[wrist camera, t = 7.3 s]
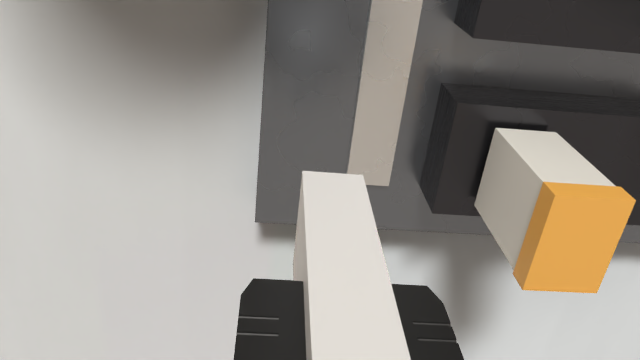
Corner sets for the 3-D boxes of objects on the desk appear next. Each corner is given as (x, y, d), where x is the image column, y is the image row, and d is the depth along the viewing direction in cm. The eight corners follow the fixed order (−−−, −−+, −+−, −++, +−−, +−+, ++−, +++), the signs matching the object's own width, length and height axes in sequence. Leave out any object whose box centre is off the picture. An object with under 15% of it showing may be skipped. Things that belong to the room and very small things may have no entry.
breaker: (472, 206, 19) (522, 289, 15) (493, 125, 17) (555, 195, 13) (532, 209, 19) (596, 293, 15) (558, 131, 18) (636, 200, 14)
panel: (256, 202, 22) (252, 253, 19) (293, -412, 14) (297, -495, 11) (754, 230, 25) (821, 280, 22) (1037, -282, 16) (1212, -319, 13)
